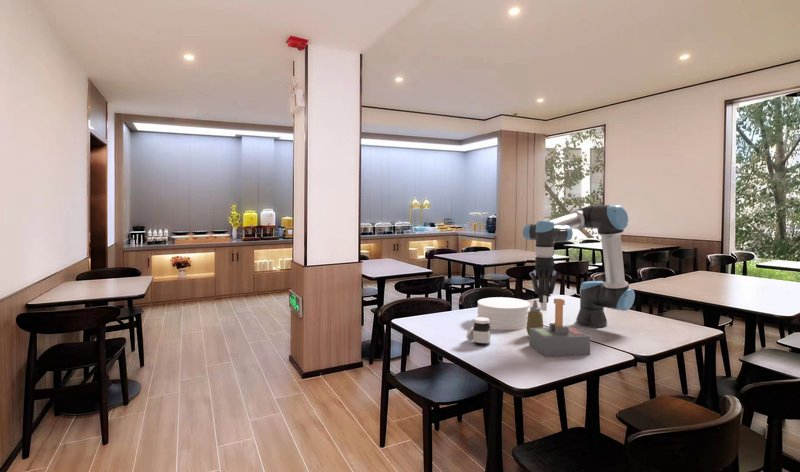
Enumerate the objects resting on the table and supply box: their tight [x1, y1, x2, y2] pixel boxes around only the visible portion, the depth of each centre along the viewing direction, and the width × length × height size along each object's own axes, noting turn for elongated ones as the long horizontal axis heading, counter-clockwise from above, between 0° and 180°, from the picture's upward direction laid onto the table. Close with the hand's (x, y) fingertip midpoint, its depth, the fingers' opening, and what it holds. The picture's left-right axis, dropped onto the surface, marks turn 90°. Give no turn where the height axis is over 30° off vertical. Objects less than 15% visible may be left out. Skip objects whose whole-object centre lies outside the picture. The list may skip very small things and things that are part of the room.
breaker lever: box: [553, 298, 566, 327], centre depth 186 cm, size 3×4×14 cm
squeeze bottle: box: [525, 299, 544, 336], centre depth 206 cm, size 8×8×18 cm
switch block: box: [528, 322, 591, 358], centre depth 187 cm, size 20×16×11 cm
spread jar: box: [466, 316, 491, 347], centre depth 198 cm, size 12×11×12 cm
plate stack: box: [477, 296, 531, 331], centre depth 232 cm, size 28×28×12 cm
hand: (543, 309), depth 185 cm, fingers closed
